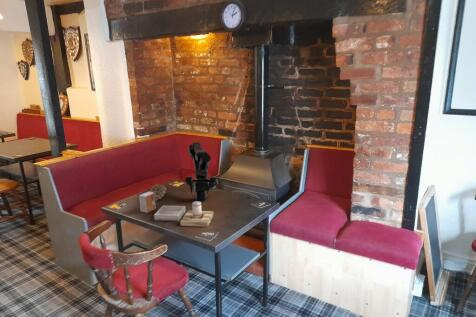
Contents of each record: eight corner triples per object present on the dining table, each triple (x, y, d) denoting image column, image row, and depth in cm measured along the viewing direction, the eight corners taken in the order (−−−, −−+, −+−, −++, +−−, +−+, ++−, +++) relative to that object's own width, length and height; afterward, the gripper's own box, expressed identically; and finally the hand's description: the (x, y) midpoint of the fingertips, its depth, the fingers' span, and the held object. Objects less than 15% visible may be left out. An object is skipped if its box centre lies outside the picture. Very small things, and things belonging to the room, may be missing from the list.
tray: (163, 210, 206) (162, 205, 206) (185, 211, 205) (185, 206, 204) (154, 220, 193) (154, 214, 192) (178, 221, 191) (178, 215, 190)
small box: (146, 213, 204) (145, 196, 201) (140, 211, 206) (138, 195, 204) (156, 208, 210) (155, 192, 208) (149, 207, 213) (148, 191, 211)
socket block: (188, 214, 200) (188, 210, 200) (213, 215, 198) (213, 211, 197) (180, 225, 186) (180, 221, 185) (207, 226, 184) (207, 222, 183)
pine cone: (159, 195, 234) (157, 181, 231) (170, 197, 229) (169, 183, 227) (135, 206, 215) (134, 191, 213) (146, 208, 211) (145, 193, 208)
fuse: (194, 218, 195) (193, 201, 192) (202, 218, 194) (202, 201, 191) (192, 222, 190) (190, 204, 187) (200, 222, 189) (199, 204, 187)
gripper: (184, 163, 198) (180, 187, 190) (216, 163, 196) (213, 188, 188) (189, 172, 208) (185, 196, 200) (219, 173, 205) (216, 196, 197)
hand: (199, 194), depth 196 cm, fingers open, 9 cm apart
